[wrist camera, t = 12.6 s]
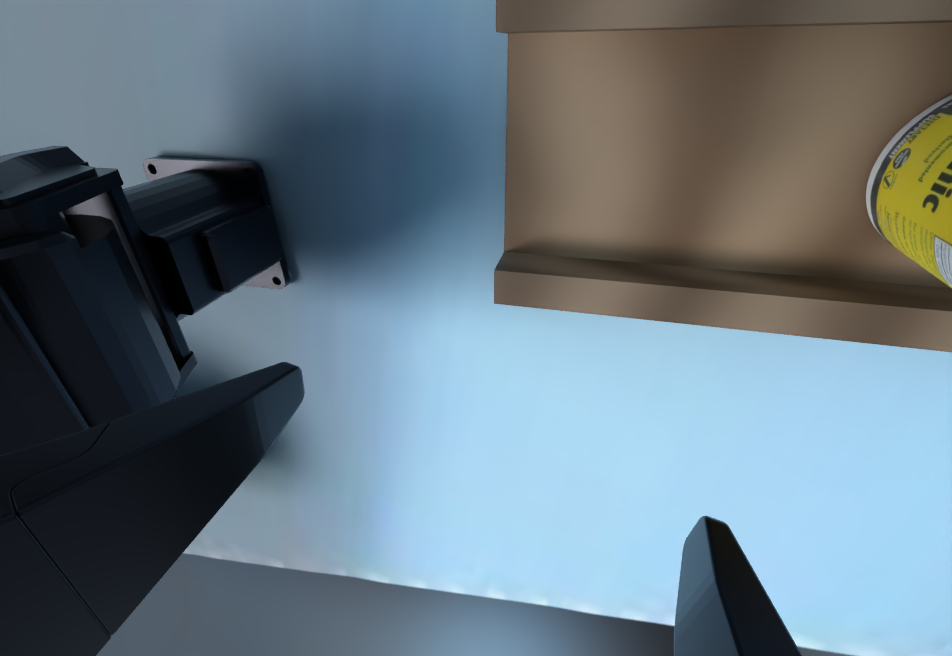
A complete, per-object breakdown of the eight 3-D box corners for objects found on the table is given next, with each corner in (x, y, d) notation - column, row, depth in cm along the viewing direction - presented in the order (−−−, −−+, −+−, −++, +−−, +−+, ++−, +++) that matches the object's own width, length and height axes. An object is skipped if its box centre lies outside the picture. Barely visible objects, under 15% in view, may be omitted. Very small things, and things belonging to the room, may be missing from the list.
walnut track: (506, 294, 22) (494, 324, 20) (514, -56, 15) (497, -75, 13) (1228, 368, 16) (1330, 421, 14) (1757, -141, 9) (2128, -202, 7)
